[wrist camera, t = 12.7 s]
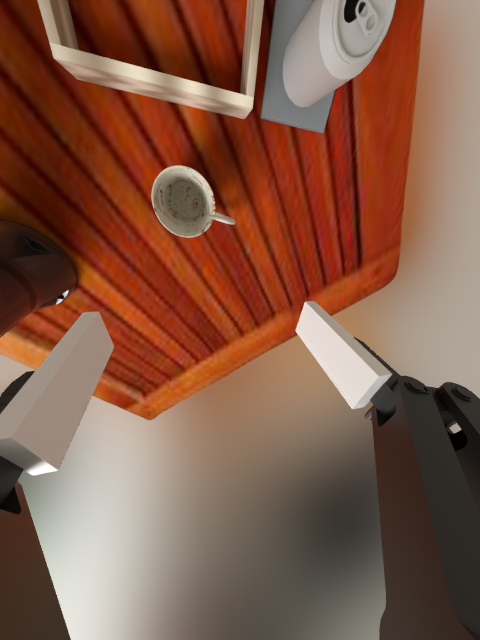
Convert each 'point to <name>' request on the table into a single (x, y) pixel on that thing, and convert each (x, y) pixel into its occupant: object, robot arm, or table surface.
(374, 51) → the can
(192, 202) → the mug
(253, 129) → the table surface
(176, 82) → the u-shaped shelf bracket
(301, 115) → the mat
